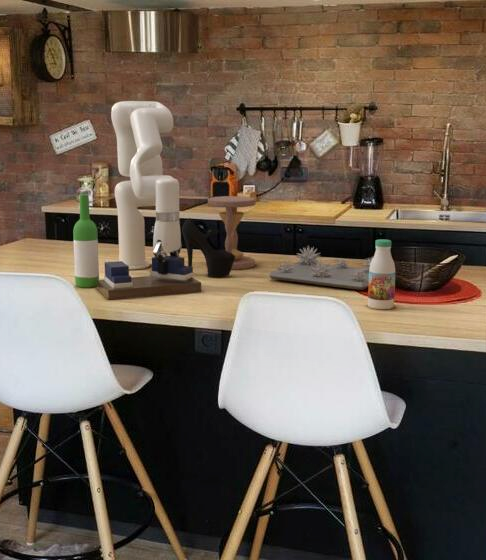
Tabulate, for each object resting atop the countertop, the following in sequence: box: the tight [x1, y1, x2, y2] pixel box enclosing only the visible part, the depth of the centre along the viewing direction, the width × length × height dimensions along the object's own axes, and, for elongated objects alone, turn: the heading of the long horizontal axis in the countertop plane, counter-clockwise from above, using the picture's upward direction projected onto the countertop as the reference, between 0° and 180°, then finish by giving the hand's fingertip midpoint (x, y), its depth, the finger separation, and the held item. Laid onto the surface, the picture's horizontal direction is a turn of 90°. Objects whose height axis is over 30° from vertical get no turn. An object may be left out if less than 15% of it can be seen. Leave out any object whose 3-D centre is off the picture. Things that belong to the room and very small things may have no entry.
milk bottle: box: [367, 238, 396, 310], centre depth 232 cm, size 8×8×20 cm
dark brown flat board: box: [96, 275, 202, 301], centre depth 253 cm, size 16×30×3 cm, turn 113°
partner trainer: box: [103, 260, 133, 289], centre depth 248 cm, size 13×6×6 cm, turn 23°
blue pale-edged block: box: [149, 254, 195, 280], centre depth 255 cm, size 13×6×6 cm, turn 63°
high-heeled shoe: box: [181, 217, 235, 279], centre depth 274 cm, size 8×19×20 cm, turn 78°
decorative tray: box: [268, 246, 373, 291], centre depth 270 cm, size 35×26×10 cm
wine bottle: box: [72, 193, 100, 289], centre depth 256 cm, size 8×8×30 cm
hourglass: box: [207, 195, 256, 271], centre depth 292 cm, size 18×18×25 cm
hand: (168, 271), depth 256 cm, fingers closed on blue pale-edged block, 6 cm apart
